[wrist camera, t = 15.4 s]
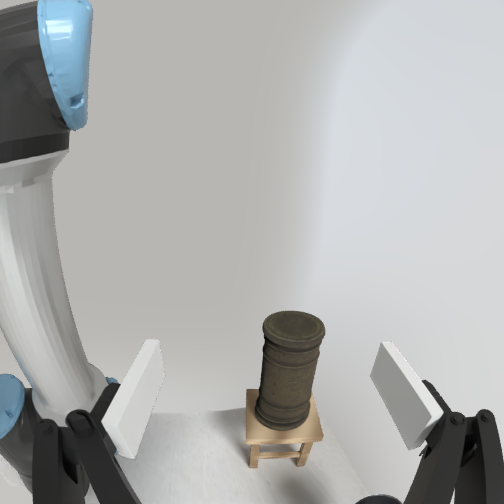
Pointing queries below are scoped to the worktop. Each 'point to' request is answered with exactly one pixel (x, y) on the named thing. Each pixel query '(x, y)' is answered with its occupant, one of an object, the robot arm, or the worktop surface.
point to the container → (288, 369)
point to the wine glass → (379, 499)
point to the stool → (280, 433)
